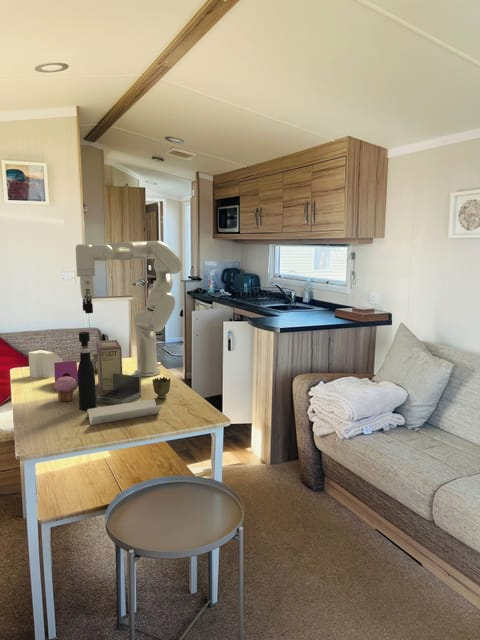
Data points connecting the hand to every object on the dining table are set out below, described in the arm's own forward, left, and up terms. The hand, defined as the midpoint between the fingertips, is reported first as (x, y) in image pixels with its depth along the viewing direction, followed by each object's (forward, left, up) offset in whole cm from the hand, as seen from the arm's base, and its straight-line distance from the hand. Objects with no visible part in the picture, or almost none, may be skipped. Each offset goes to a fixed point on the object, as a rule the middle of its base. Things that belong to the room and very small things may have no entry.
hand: (87, 311), depth 213 cm
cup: (+3, +39, -34) cm, 52 cm away
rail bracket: (+12, +24, -34) cm, 43 cm away
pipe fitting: (-24, -14, -34) cm, 44 cm away
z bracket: (+28, +37, -34) cm, 58 cm away
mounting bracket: (+4, -10, -34) cm, 36 cm away
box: (-1, +10, -34) cm, 35 cm away
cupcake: (+20, +4, -34) cm, 40 cm away
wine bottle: (+25, +19, -34) cm, 46 cm away
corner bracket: (-7, -32, -34) cm, 48 cm away
